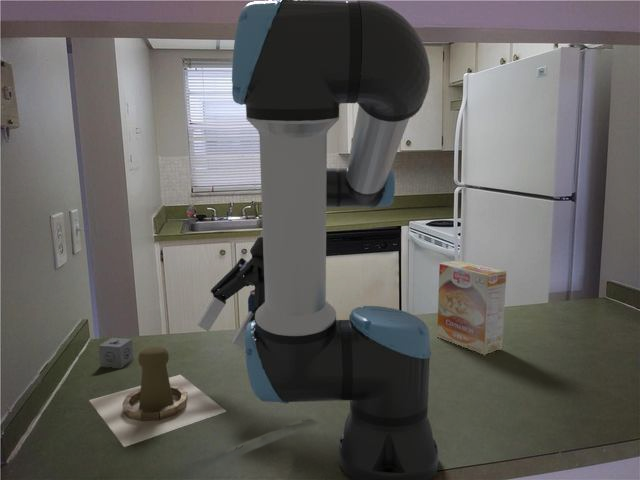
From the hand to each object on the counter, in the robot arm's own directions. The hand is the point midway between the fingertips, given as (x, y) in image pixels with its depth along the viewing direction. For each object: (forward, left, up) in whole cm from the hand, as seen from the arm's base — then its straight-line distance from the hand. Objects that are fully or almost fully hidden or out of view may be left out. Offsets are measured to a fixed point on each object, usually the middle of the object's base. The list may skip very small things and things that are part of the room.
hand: (218, 336), depth 100 cm
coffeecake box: (-14, -60, -12) cm, 63 cm away
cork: (0, +13, -11) cm, 17 cm away
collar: (+1, +13, -10) cm, 16 cm away
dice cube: (+28, +11, -12) cm, 33 cm away
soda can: (+22, -23, -12) cm, 34 cm away
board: (+1, +13, -12) cm, 17 cm away
